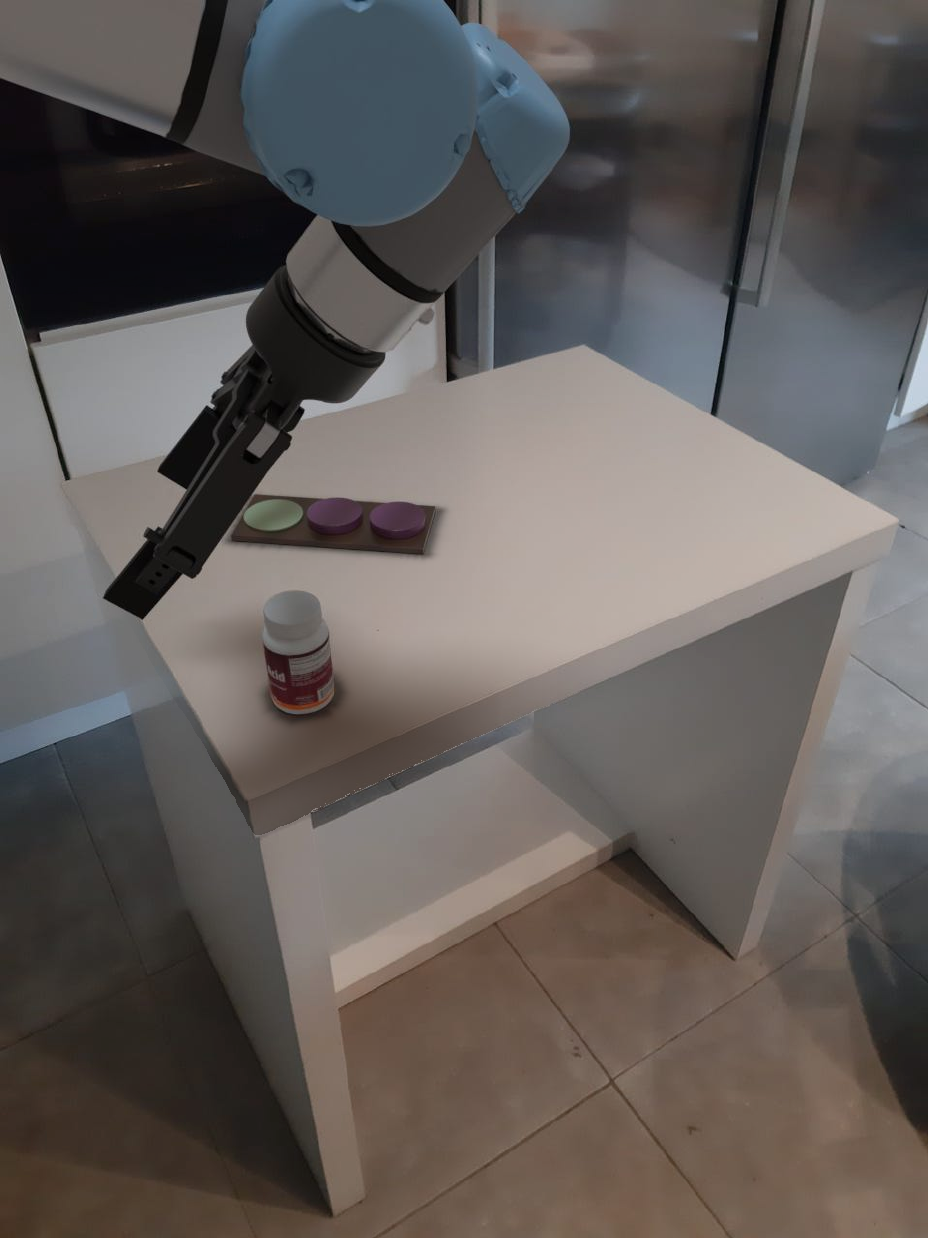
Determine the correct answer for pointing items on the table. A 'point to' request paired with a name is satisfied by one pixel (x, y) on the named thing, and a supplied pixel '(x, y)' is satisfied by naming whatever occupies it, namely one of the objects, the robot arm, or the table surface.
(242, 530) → the board
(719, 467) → the table surface
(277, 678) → the pill bottle
